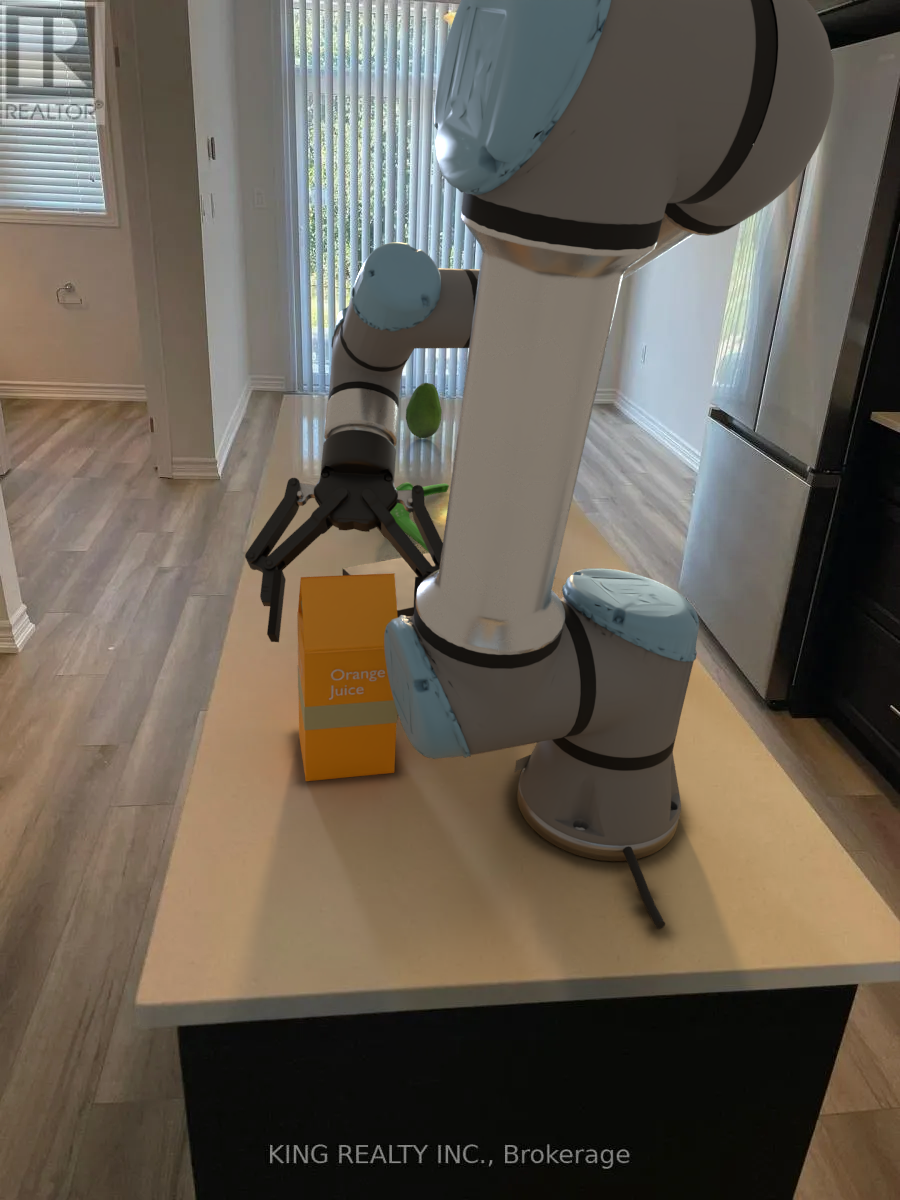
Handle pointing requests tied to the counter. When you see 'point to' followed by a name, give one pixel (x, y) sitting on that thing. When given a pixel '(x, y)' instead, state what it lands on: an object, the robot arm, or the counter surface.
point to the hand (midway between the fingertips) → (344, 642)
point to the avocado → (424, 411)
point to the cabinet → (402, 579)
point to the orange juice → (345, 676)
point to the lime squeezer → (403, 515)
